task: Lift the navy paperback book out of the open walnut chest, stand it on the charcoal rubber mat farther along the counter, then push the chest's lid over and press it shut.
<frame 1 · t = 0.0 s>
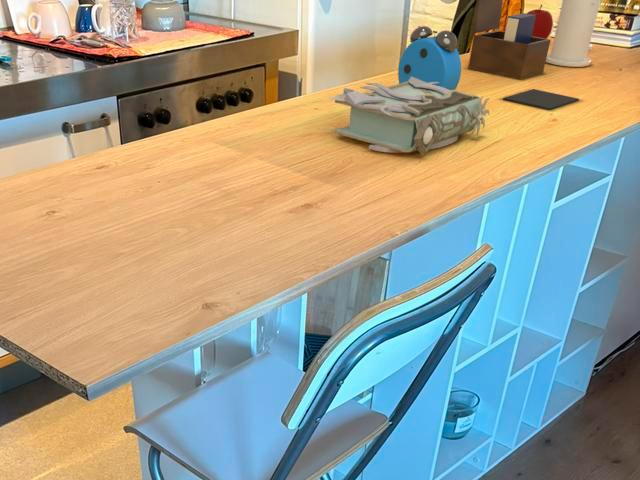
chest: (505, 71, 213), on the breakfast bar
mat: (540, 100, 190), on the breakfast bar
alarm clock: (423, 105, 183), on the breakfast bar
apple: (532, 43, 246), on the breakfast bar
ornate book: (408, 137, 163), on the breakfast bar
book: (511, 68, 212), point 1 cm above the breakfast bar, touching chest
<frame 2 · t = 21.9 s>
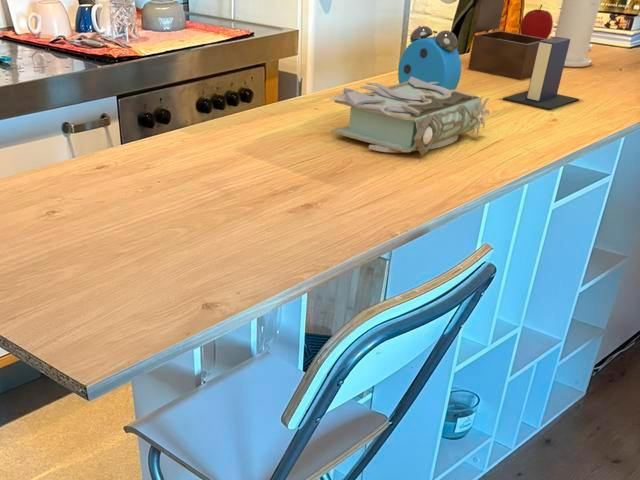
hand: (478, 2, 210), 14 cm above the breakfast bar, tool pointing down, fingers closed
book: (541, 98, 189), resting on mat
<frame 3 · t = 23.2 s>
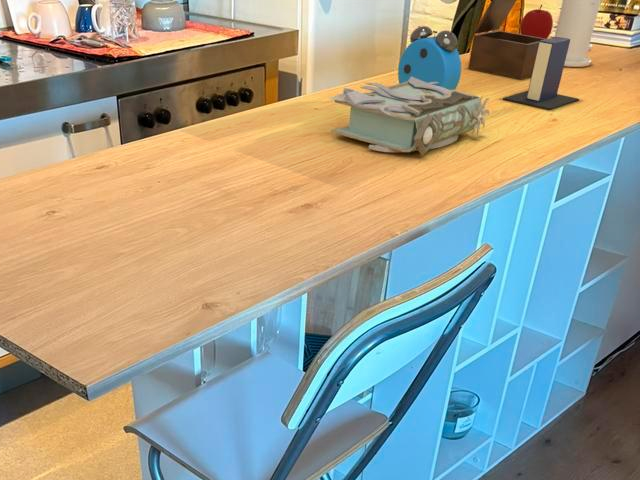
hand: (496, 5, 207), 14 cm above the breakfast bar, tool pointing down, fingers closed
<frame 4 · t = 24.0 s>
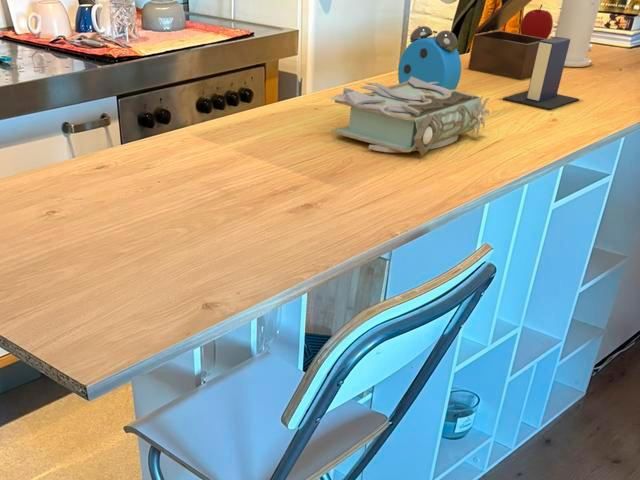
hand: (506, 7, 206), 14 cm above the breakfast bar, tool pointing down, fingers closed
lid: (511, 8, 205), point 14 cm above the breakfast bar, hinge at 44.0°, touching gripper
everything else where it was.
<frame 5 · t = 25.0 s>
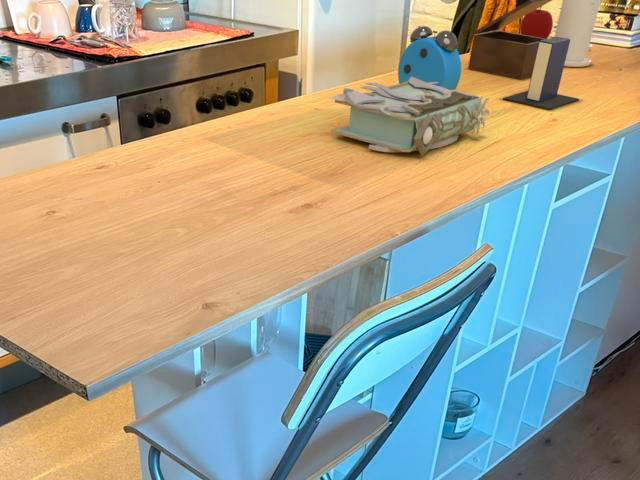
hand: (521, 7, 203), 14 cm above the breakfast bar, tool pointing down, fingers closed
lid: (513, 15, 205), point 13 cm above the breakfast bar, hinge at 31.5°, touching gripper
everything else where it was.
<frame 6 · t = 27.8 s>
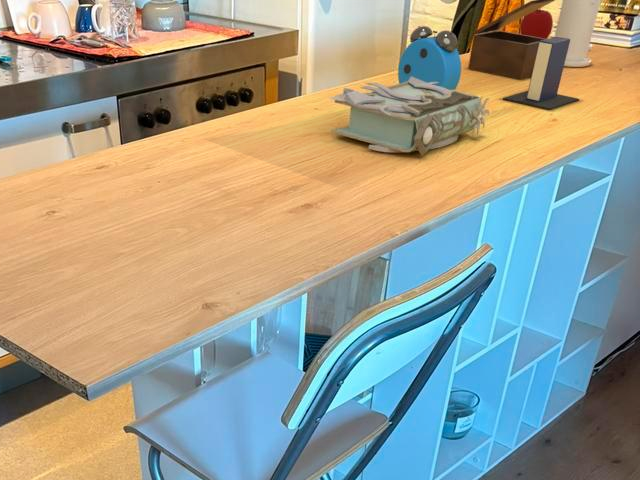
lid: (514, 16, 205), point 12 cm above the breakfast bar, hinge at 30.4°, touching gripper
everything else where it was.
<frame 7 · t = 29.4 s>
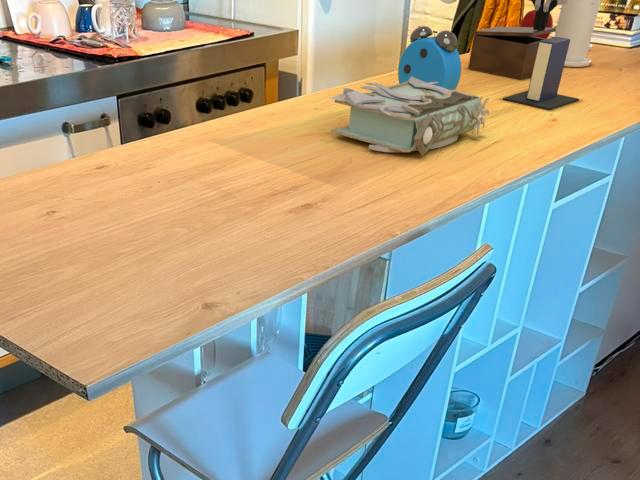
hand: (539, 29, 203), 10 cm above the breakfast bar, tool pointing down, fingers closed
lid: (514, 31, 207), point 9 cm above the breakfast bar, hinge at 6.5°, touching gripper
everything else where it was.
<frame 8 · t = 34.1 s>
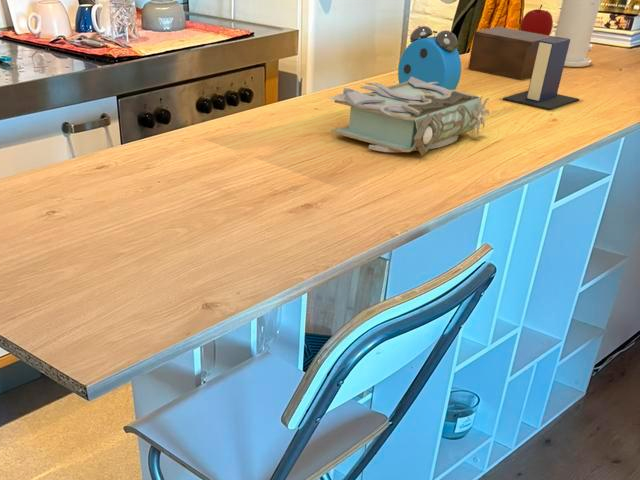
lid: (514, 35, 208), point 8 cm above the breakfast bar, hinge at -0.2°, touching chest
everything else where it was.
at the end: book inside the target area on the mat (0.0 cm from its centre), point 0.4 cm above the mat's base; lid at +0° (first picture: +95°) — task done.
